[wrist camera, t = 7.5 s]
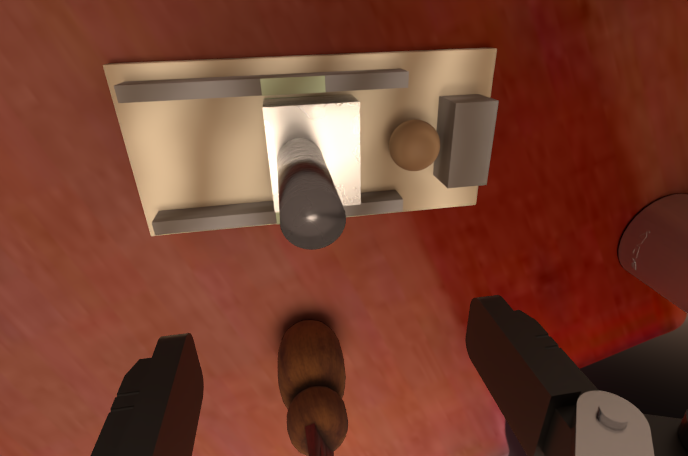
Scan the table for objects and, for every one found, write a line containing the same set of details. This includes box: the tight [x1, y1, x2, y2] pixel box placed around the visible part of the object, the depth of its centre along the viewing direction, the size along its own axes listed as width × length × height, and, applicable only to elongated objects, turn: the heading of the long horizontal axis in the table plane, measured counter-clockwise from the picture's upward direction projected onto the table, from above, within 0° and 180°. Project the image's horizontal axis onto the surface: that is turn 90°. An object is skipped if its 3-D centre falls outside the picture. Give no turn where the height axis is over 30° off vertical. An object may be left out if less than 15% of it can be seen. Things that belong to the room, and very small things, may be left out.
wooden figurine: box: [278, 320, 348, 456], centre depth 32 cm, size 7×6×15 cm
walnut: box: [389, 120, 440, 171], centre depth 28 cm, size 4×4×4 cm
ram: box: [263, 94, 361, 249], centre depth 24 cm, size 6×7×12 cm
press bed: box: [103, 48, 499, 236], centre depth 28 cm, size 26×12×4 cm, turn 91°
